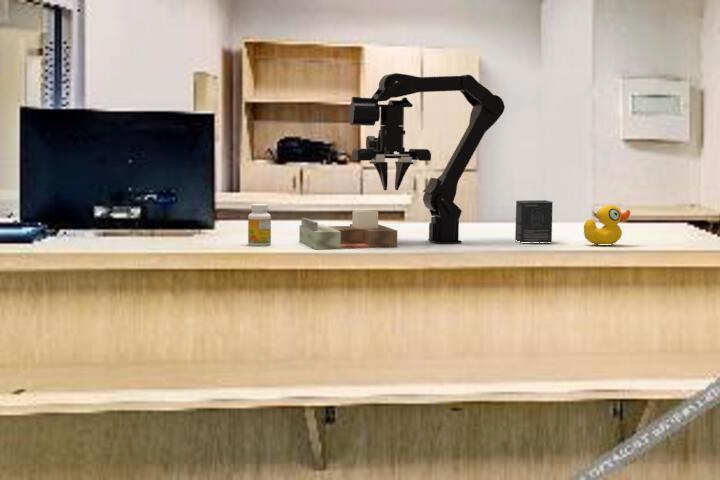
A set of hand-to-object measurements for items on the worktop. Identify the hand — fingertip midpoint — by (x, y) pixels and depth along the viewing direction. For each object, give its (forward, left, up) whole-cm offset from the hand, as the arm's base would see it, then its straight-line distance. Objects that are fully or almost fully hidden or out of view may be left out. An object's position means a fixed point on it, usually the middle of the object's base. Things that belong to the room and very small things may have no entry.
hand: (390, 190), depth 229 cm
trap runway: (+11, 0, -13) cm, 17 cm away
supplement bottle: (+32, -3, -13) cm, 35 cm away
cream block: (+6, 0, -9) cm, 11 cm away
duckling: (-51, +15, -13) cm, 55 cm away
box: (-36, +6, -13) cm, 39 cm away
